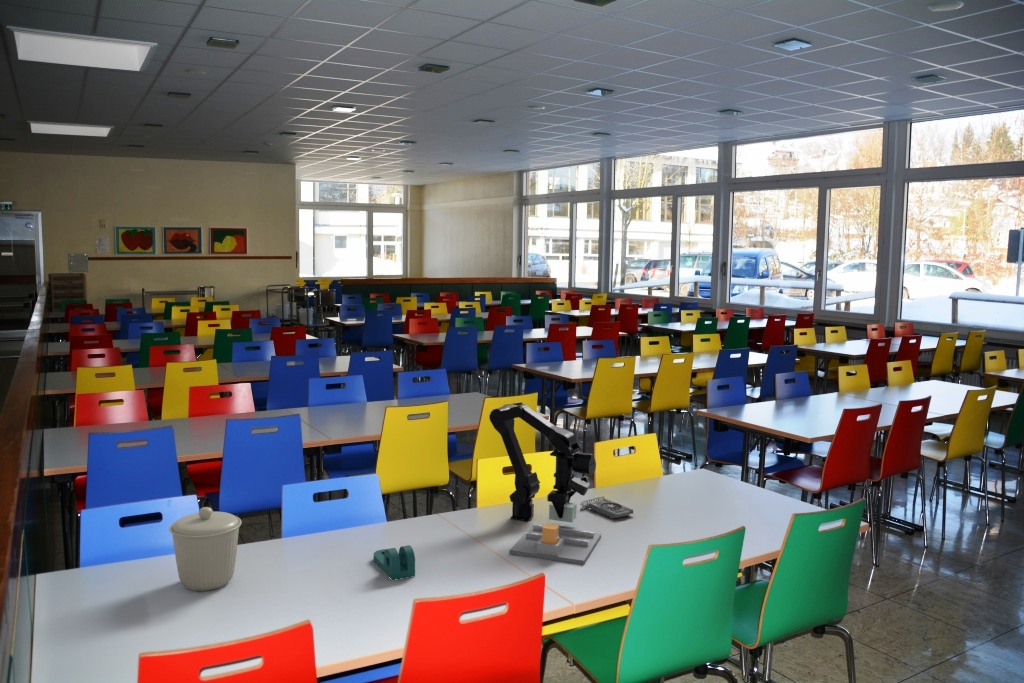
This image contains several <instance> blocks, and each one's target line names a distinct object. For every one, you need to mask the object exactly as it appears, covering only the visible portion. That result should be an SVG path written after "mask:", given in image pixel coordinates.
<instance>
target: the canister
mask: <svg viewBox="0 0 1024 683" xmlns="http://www.w3.org/2000/svg"><path fill="white" fill-rule="evenodd" d="M241 525H242V520H241V518H240V517H239V516H236V515H234V514H232V513H229V512H225V511H213V509H212V508H211V507H210V506H209V507H208V506H204V507H201V508H200V509H199V510H198V512H196V513H192V514H187V515H185V516H183V517H181V518H179V519H177V520H176V521H174V522H173V523H172V524H170V526H169V528H168V531H169V533H171V535H172V542H173V548H174V555H175V562H176V567H177V574H178V578H179V582H180V583H181V585H182V586H183V587H184V588H186V589H187V590H190V591H191V590H192V591H195V592H196V591H199V592H201V591H202V592H203V591H204V592H205V591H210V590H216V589H219V588H221V587H224V586H226V585H227V584H228V583H229V582H231V580H232V578H233V576H234V573H235V570H236V569H235V568H236V567H235V566H236V561H237V560H236V558H237V551H238V542H239V532H240V531H239V530H240V527H241Z"/></svg>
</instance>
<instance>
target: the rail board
mask: <svg viewBox="0 0 1024 683" xmlns="http://www.w3.org/2000/svg"><path fill="white" fill-rule="evenodd" d="M544 526H545V525H544V524H535V523H534V524H532V525H531V526H529V528H528V529H527V530H526V531H525V533H524V534H523V535H521V537H520V538H519V539H518V540H517V541H516V542H515V543H514V544H513V546H512V547H511V548H510V549H509V555H516V556H524V557H530V558H536V559H537V558H538V559H544V560H551V561H558V562H565V563H571V564H577V565H585V563H586V562H587V560H588V559H589V558H590V556H591V554H592V553H593V551H594V549H595V548H596V547H597V545H598V543H599V542H600V539H601V538H602V533H598V532H595V531H588V530H581V529H573V528H565V527H559V538H558V542H557V543H556V545H555V544H548V543H542V528H543V527H544Z"/></svg>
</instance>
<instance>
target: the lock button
mask: <svg viewBox="0 0 1024 683" xmlns="http://www.w3.org/2000/svg"><path fill="white" fill-rule="evenodd" d="M559 528H560V525H559V524H552V523H551V524H550V523H545V525H544V527H543V528H542V543H548V544H555V545H556V543H557V542H558V538H559Z"/></svg>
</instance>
